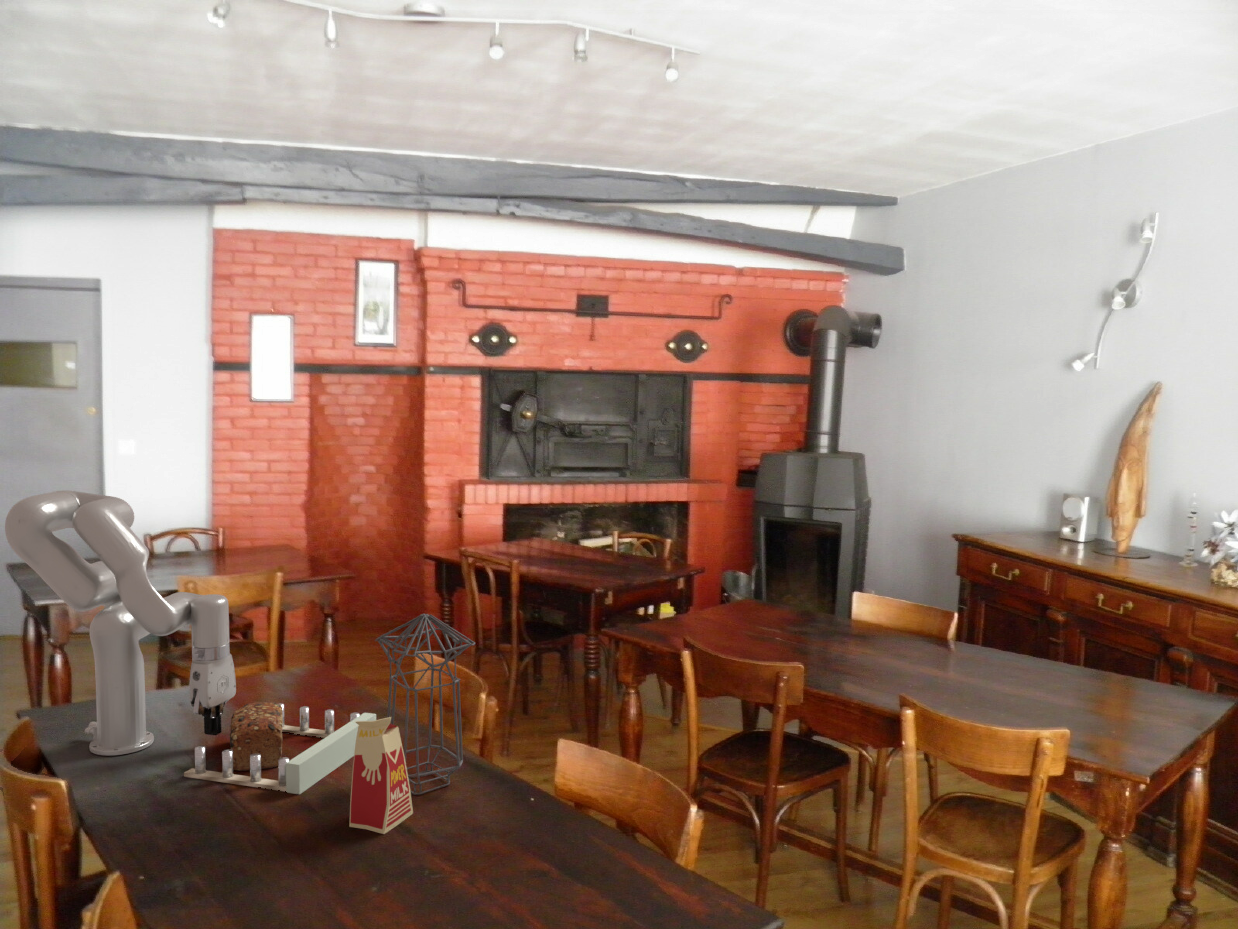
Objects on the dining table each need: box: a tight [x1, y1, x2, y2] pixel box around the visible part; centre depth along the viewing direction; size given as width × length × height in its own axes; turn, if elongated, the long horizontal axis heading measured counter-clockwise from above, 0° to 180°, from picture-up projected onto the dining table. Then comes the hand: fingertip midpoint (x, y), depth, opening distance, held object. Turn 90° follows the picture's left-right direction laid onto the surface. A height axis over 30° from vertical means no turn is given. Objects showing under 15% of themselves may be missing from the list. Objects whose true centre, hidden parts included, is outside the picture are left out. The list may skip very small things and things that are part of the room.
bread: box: [229, 701, 283, 772], centre depth 206 cm, size 19×11×10 cm, turn 19°
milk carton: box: [348, 716, 414, 835], centre depth 176 cm, size 9×9×20 cm
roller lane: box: [183, 702, 377, 795], centre depth 205 cm, size 27×30×6 cm
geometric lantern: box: [374, 613, 476, 796], centre depth 192 cm, size 16×16×35 cm
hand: (212, 733), depth 209 cm, fingers closed
